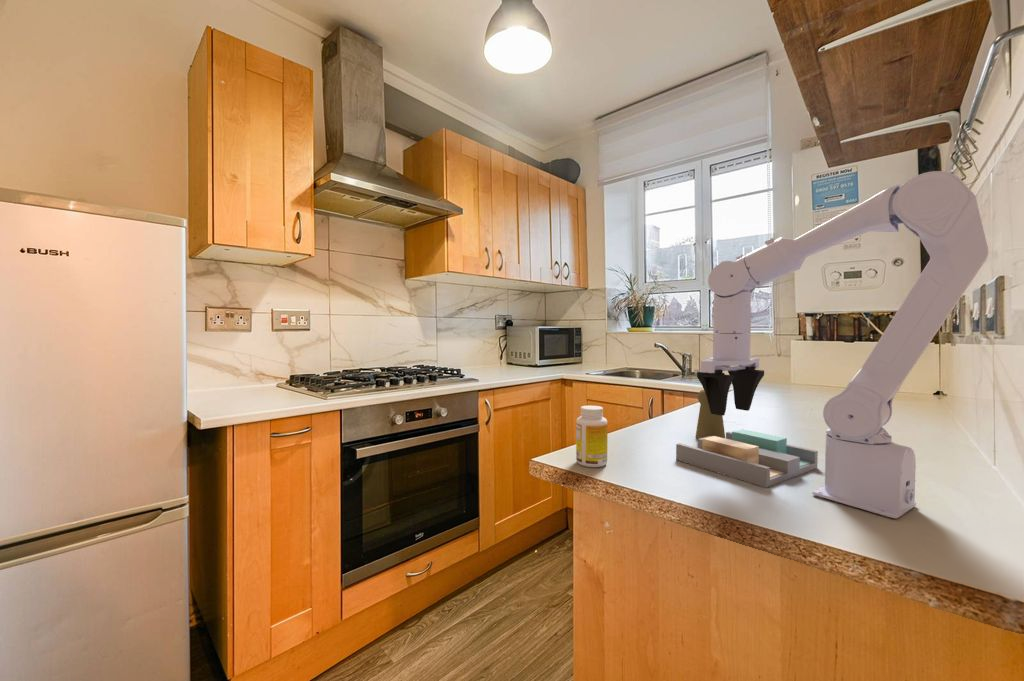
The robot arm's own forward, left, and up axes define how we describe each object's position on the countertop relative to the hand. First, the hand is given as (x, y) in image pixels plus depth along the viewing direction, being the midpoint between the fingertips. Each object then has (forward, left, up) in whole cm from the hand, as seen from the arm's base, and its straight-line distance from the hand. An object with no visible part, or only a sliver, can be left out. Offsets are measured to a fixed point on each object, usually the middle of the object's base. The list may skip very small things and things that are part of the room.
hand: (730, 412), depth 73 cm
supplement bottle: (+15, +18, -10) cm, 26 cm away
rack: (0, -5, -10) cm, 11 cm away
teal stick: (0, -10, -9) cm, 13 cm away
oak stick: (0, 0, -9) cm, 9 cm away
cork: (+13, -15, -10) cm, 22 cm away
